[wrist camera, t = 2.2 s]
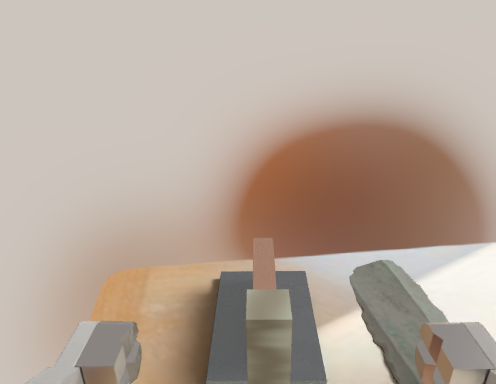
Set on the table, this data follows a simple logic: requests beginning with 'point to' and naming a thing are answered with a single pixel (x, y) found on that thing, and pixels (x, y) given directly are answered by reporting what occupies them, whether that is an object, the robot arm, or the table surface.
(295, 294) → the stand
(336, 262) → the table surface
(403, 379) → the stone slab
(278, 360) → the brown t-shaped piece
